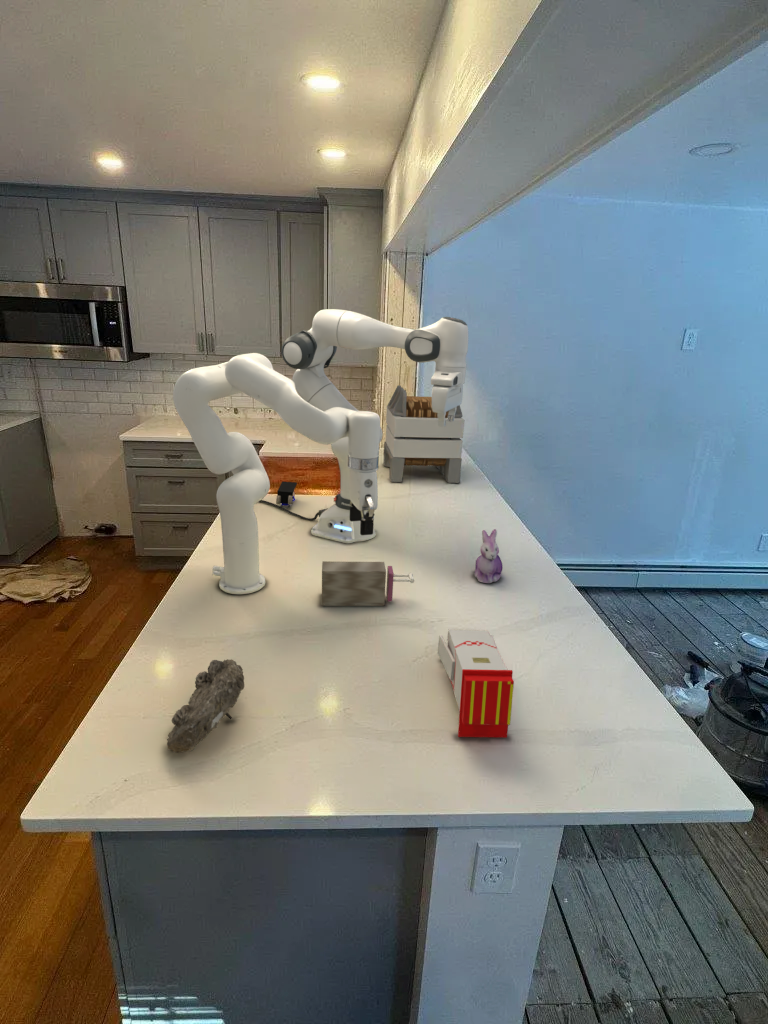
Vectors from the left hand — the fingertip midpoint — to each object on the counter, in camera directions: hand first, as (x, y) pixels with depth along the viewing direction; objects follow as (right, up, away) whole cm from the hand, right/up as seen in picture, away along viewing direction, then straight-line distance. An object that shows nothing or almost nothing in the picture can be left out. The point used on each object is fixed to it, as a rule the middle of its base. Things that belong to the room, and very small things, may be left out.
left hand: (360, 527), depth 145 cm
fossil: (-27, -35, -37) cm, 58 cm away
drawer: (+3, -19, +9) cm, 21 cm away
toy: (+24, -34, -26) cm, 49 cm away
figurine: (+37, -16, +25) cm, 48 cm away
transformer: (+23, +23, +130) cm, 134 cm away
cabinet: (-3, -20, +9) cm, 22 cm away
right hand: (+24, +30, +24) cm, 46 cm away
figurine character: (-33, +7, +79) cm, 86 cm away
